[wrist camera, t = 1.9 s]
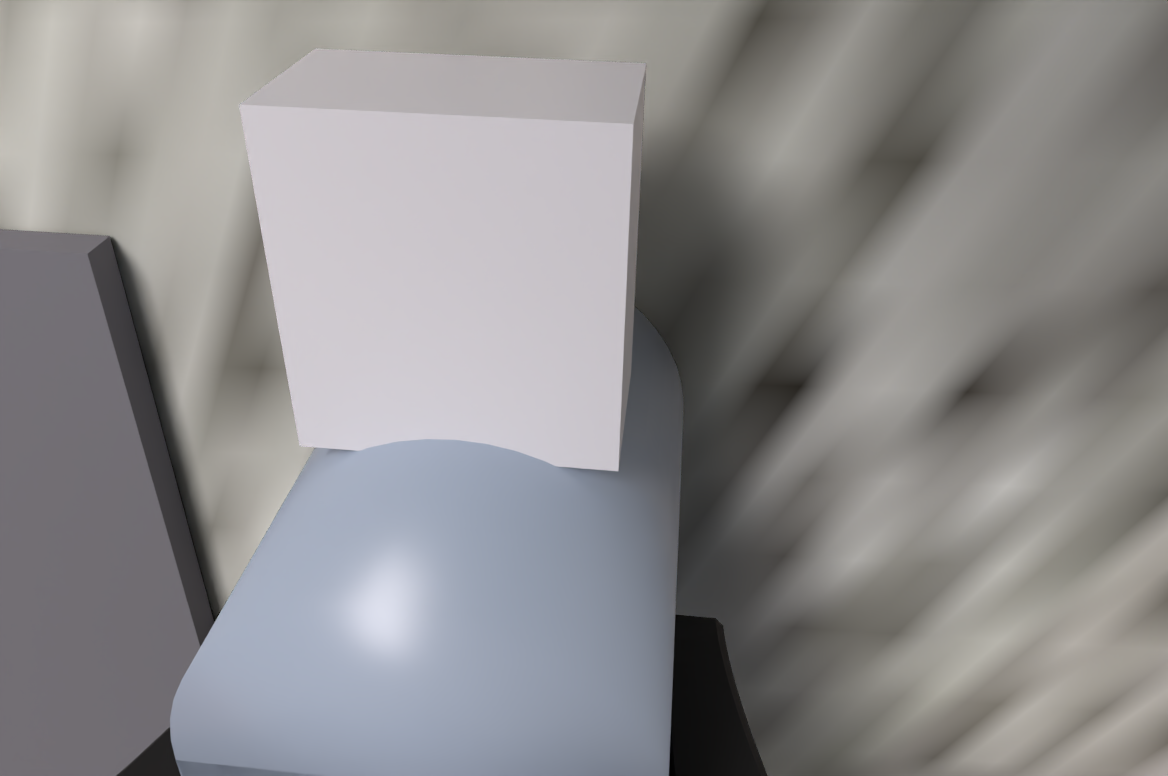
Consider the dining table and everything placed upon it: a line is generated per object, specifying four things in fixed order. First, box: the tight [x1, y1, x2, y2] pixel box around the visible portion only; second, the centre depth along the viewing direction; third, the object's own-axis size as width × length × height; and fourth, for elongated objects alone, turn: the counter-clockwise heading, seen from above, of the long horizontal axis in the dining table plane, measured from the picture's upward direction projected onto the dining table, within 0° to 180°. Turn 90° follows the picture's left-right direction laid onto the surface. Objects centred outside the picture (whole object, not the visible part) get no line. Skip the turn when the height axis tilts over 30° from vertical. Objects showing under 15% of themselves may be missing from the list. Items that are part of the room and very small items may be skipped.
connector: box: [170, 49, 684, 776], centre depth 11 cm, size 13×4×6 cm, turn 179°
